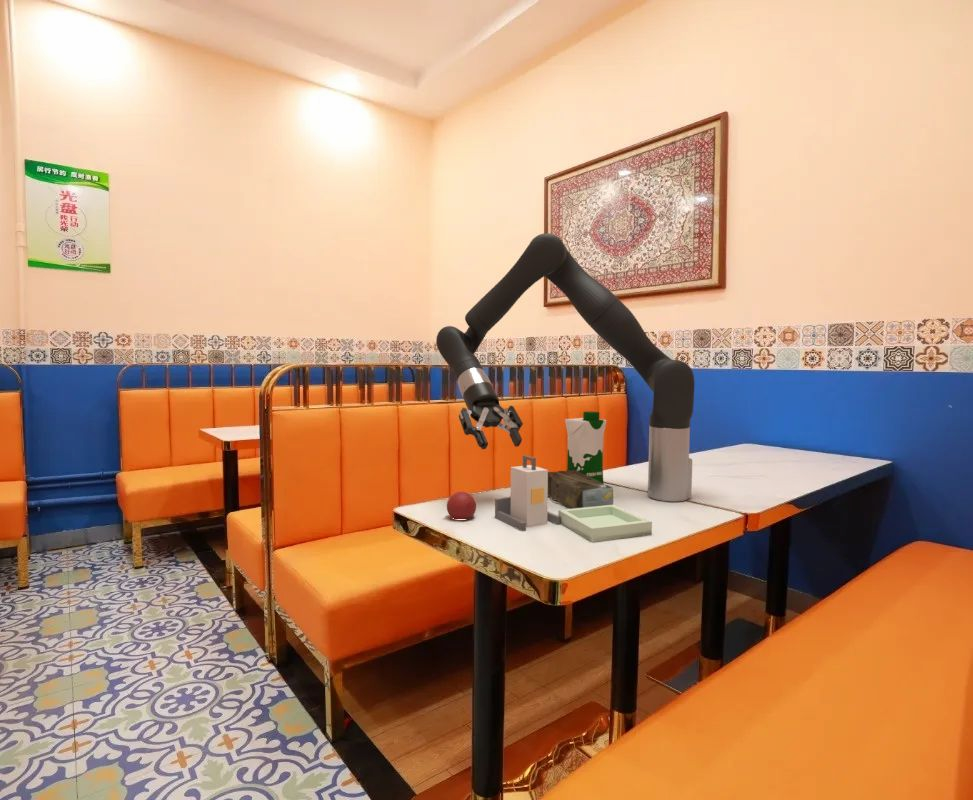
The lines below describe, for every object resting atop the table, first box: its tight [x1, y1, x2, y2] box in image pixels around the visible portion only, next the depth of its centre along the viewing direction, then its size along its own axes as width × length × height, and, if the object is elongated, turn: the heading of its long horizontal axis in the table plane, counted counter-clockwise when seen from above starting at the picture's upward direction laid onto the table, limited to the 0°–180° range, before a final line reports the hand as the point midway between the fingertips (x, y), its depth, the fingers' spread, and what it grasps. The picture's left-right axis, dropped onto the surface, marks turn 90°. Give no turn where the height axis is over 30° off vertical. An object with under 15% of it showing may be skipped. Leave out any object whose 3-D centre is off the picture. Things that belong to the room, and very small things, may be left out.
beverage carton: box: [548, 470, 614, 509], centre depth 123 cm, size 8×19×7 cm, turn 18°
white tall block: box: [510, 455, 549, 528], centre depth 109 cm, size 5×6×13 cm
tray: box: [557, 504, 653, 543], centre depth 105 cm, size 13×13×2 cm
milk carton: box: [564, 411, 608, 484], centre depth 139 cm, size 9×9×20 cm
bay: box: [494, 495, 561, 532], centre depth 110 cm, size 9×10×4 cm
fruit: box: [446, 491, 477, 520], centre depth 111 cm, size 6×6×8 cm
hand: (502, 445), depth 118 cm, fingers open, 8 cm apart
